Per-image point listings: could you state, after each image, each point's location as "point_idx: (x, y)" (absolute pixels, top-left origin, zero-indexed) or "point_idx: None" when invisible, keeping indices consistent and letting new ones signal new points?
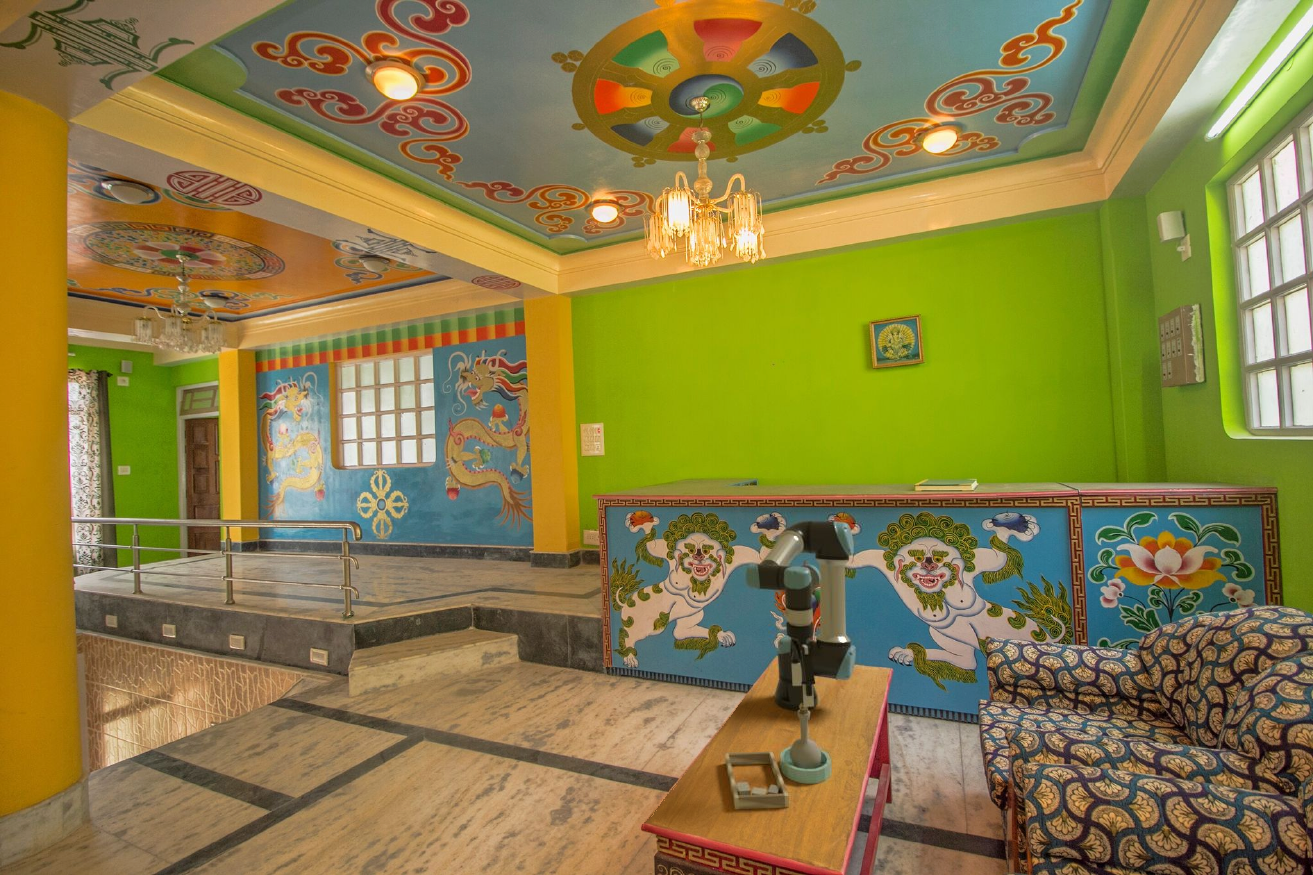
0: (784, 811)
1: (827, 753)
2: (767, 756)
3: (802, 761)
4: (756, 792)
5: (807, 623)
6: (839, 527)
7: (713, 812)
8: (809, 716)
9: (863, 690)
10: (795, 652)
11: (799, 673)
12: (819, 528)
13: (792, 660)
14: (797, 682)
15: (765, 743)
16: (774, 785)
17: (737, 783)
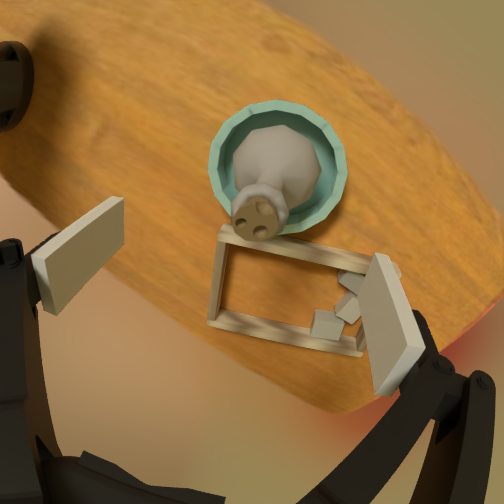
0: (402, 275)
1: (273, 100)
2: (226, 244)
3: (310, 196)
4: (354, 316)
5: None
6: None
7: (350, 368)
8: (282, 194)
9: None
10: (48, 419)
11: (86, 240)
12: None
13: (38, 325)
14: (115, 228)
15: (145, 207)
16: (344, 276)
17: (312, 335)
